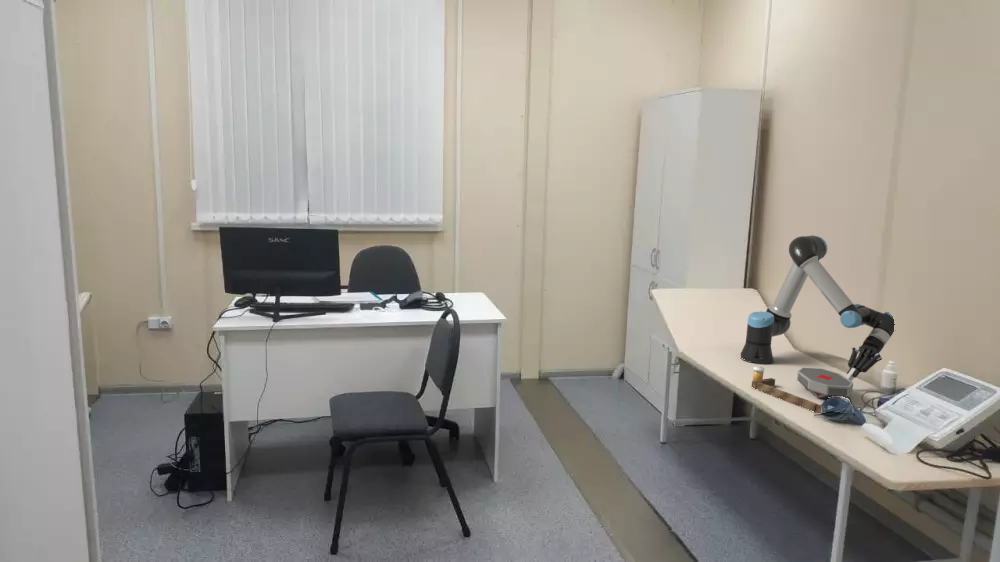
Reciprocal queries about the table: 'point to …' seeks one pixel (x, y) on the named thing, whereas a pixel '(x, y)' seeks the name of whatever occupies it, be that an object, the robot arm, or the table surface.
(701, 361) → the table surface
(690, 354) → the table surface
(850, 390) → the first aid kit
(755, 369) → the pill bottle
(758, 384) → the brown piece
